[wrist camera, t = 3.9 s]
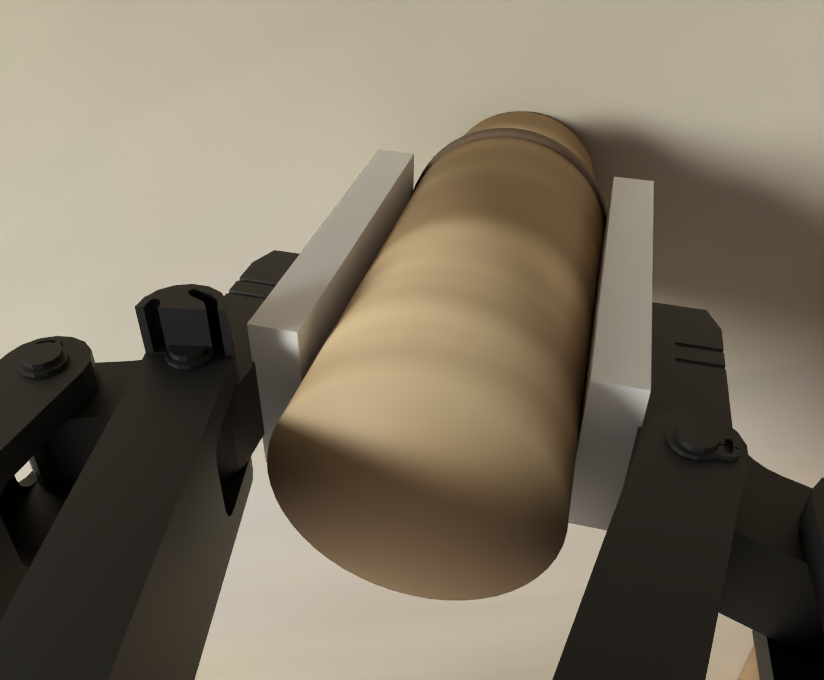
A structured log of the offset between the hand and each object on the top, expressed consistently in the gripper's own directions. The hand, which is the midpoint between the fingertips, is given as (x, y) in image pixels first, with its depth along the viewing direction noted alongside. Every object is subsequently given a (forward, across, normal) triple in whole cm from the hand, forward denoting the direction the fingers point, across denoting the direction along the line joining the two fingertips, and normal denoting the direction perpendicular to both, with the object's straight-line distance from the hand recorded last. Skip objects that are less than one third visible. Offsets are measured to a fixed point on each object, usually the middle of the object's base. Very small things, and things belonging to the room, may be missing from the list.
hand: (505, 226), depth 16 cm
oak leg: (+2, 0, 0) cm, 2 cm away
